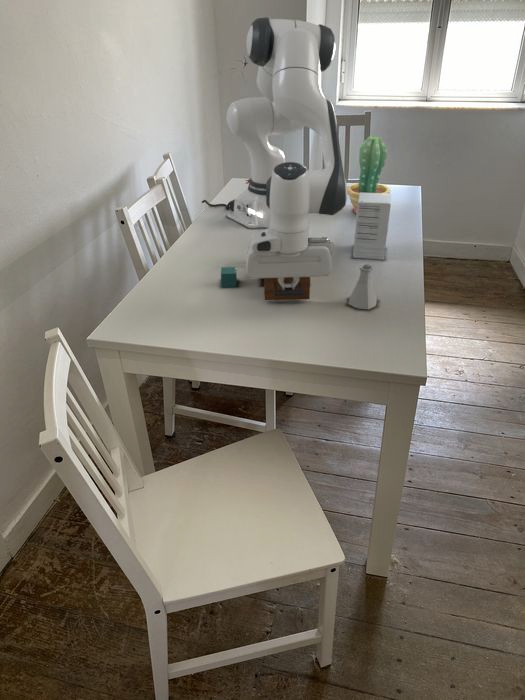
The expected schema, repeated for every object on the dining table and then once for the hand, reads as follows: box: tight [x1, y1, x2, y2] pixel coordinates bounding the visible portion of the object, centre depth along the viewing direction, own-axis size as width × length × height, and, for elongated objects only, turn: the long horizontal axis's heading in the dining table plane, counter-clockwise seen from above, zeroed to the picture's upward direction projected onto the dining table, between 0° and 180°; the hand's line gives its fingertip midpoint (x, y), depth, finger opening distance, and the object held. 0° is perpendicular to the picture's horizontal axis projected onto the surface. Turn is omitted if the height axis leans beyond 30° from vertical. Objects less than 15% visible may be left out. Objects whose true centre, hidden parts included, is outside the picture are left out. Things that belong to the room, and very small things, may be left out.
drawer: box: [263, 277, 311, 301], centre depth 136 cm, size 21×11×7 cm, turn 2°
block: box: [220, 266, 238, 288], centre depth 142 cm, size 4×4×4 cm
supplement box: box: [352, 193, 392, 261], centre depth 154 cm, size 10×9×17 cm
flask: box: [347, 263, 378, 310], centre depth 131 cm, size 7×7×10 cm
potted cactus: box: [347, 135, 391, 214], centre depth 182 cm, size 15×15×25 cm
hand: (288, 292), depth 129 cm, fingers closed
